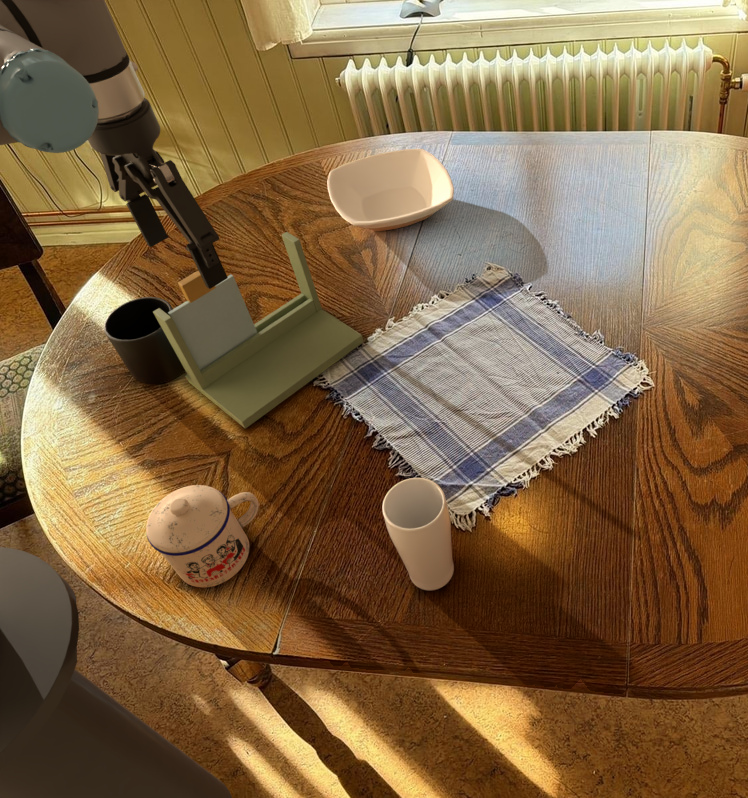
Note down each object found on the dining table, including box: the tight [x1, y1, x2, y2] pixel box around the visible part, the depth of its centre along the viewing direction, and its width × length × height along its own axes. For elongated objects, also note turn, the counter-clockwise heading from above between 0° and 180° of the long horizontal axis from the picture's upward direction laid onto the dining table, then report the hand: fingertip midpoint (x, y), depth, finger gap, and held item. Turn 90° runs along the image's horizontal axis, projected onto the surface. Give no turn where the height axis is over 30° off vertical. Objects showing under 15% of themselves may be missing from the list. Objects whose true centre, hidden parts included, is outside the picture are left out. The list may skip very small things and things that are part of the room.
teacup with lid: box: [145, 484, 260, 588], centre depth 87 cm, size 12×9×12 cm
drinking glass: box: [381, 477, 455, 591], centre depth 83 cm, size 7×7×15 cm
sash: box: [168, 269, 257, 371], centre depth 105 cm, size 10×1×16 cm, turn 140°
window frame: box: [153, 231, 364, 429], centre depth 107 cm, size 22×14×15 cm, turn 140°
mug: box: [103, 296, 186, 385], centre depth 110 cm, size 9×12×9 cm
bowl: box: [326, 148, 455, 232], centre depth 136 cm, size 22×22×5 cm
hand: (186, 261), depth 97 cm, fingers open, 13 cm apart
